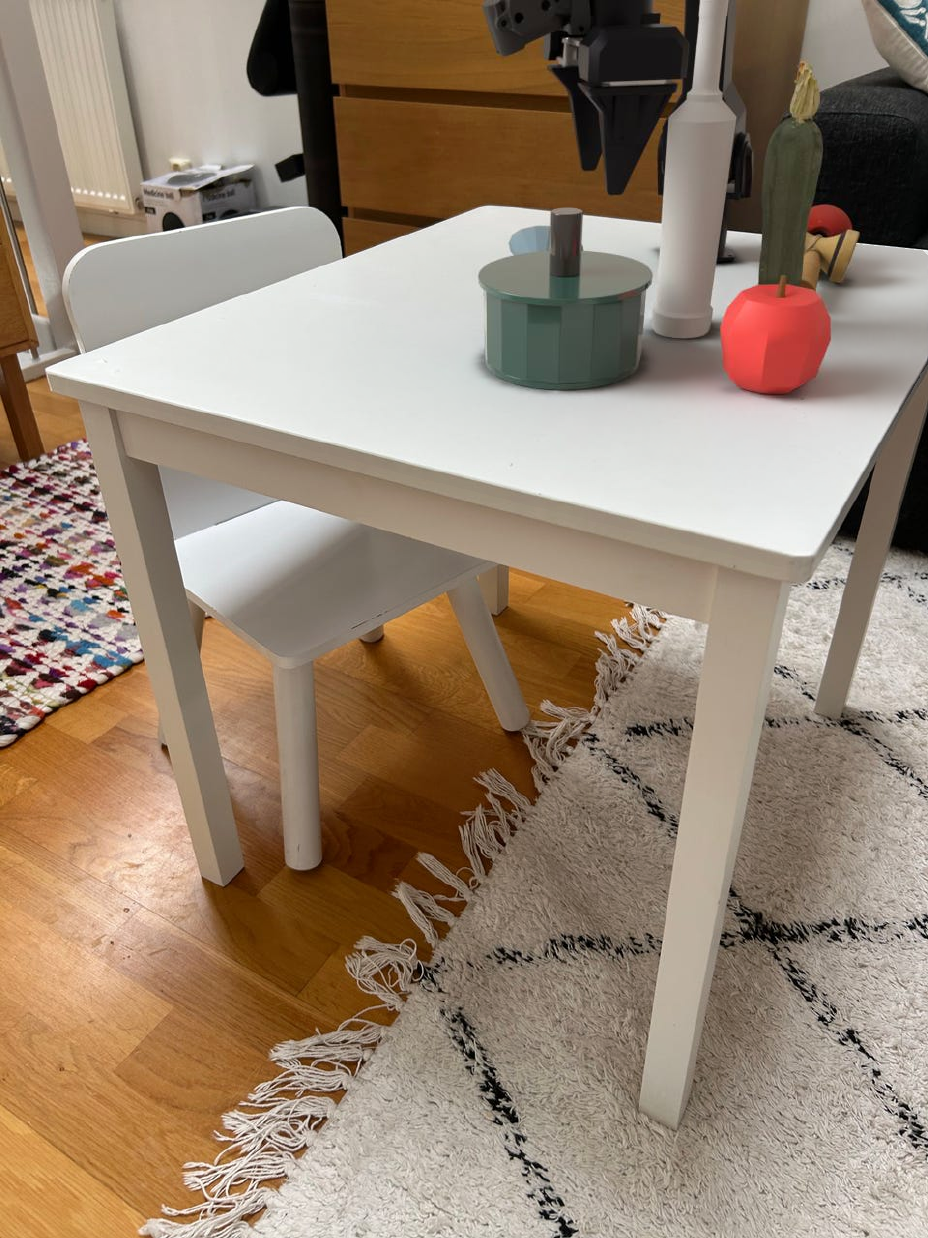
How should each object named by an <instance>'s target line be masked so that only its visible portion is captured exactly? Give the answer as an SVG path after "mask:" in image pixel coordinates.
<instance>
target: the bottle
mask: <svg viewBox="0 0 928 1238" xmlns="http://www.w3.org/2000/svg"><path fill="white" fill-rule="evenodd" d="M728 2H729V0H700V8H699V26H698V36H697V47H696V57H695V67H694V77H693V87H692V90H691V91H690V92H688V93H687V100H686V101H685V102H684V103H683V104H682V105H681V106H680V107H679V108H678V109H677V110H676V111H675V112H674V113H673V114H671V115H670V116H669V115H668V116H669V120H668V135H667V150H666V165H665V180H664V195H663V198H662V212H661V226H660V227H661V229H660V243H659V244H660V245H659V255H658V256H659V258H658V272H657V273H658V274H657V286H656V287H657V288H656V302H655V303H654V305H653V307H652V312H651V324H652V330H653V331H654V332H655V333H656V334H657V335H660V336H663V337H667V338H672V339H695V338H699V337H703V336H705V335H706V334H708V333H709V331H710V328H711V325H712V321H713V314H714V307H713V306H712V305H711V303H712V297H713V296H712V295H713V290H714V283H715V282H714V281H715V276H716V275H715V274H716V268H717V262H716V261H717V254H718V247H719V239H720V232H721V225H722V218H723V211H724V203H725V196H726V189H727V182H728V175H729V167H730V160H731V153H732V146H733V138H734V131H735V124H736V116H735V114H734V113H733V112H732V111H731V110H730V108H729V107H728V106H727V105H726V104H725V102H724V101H723V100H722V94H723V93H722V92H721V91H720V90H719V79H720V69H721V60H722V50H723V41H724V32H725V22H726V16H727V11H728Z"/></svg>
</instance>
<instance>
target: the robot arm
mask: <svg viewBox="0 0 928 1238" xmlns="http://www.w3.org/2000/svg"><path fill="white" fill-rule="evenodd" d="M654 1H655V0H485V1H483V2H482V3H481V9H482V11H483V15H484V18H485V21H486V24H487V27H488V30H489V33H490V37H491V39H492V42H493V46H494V49H495V53H496V54H497V55H500V57H502V58H504V57H509V56H511V55H514V54H517V53H518V52H520V51H522V50H524V49H525V47H526V45H528V44H530V43H532V42H534V41H536V40H538V39H539V40H540V39H541V38H542V59H544V60H546V61H557V63H552V64H551V63H550V64H546V69H547V70H548V71H549V73H551V74H552V76H554V78H555V79H556V80H557V81H558V82H559V83H560V84H561V85H562V87H564V89H565V90H566V92H567V96H568V100H569V107H570V112H571V117H572V123H573V129H574V135H575V141H576V147H577V152H578V157H579V158H578V159H579V163H580V169H581V170H582V171H583V172H595V171H596V169H598V166H599V163H600V160H601V157H602V165H603V174H604V175H603V176H604V182H605V184H604V185H605V192H606V194H607V195H609V196H620V195H623V194H624V192H625V190H626V188H627V186H628V184H629V182H630V180H631V178H632V175H633V174H634V172H635V170H636V167H637V165H638V163H639V161H640V160H641V157H642V155H643V153H644V151H645V148H646V146H647V145H648V143H649V140H650V139H651V136H652V135H653V132H654V130H655V129H656V126H657V125H658V122H659V121H660V119H661V117H662V115H663V113H664V112H665V110H666V107H667V106H668V104H669V102H670V101H671V98H672V97H673V94H676V93H677V91H678V89H679V83H678V82H676V81H677V80H681V93H680V95H679V96H678V98H677V100H676V102H675V104H674V105H673V107H672V109H671V111H670V112H669V114H668V116H667V118H666V119H665V121H664V122H663V125H662V132H661V133H660V137H659V141H658V146H657V155H656V156H657V157H656V158H657V195H658V196H661V197H662V196H663V195H664V180H665V165H666V150H667V135H668V120H669V116H670V115H671V114H673V113H674V112H675V111H676V110H677V109H678V108H679V107H680V106H681V105H682V104H683V103H684V102H685V101H686V100H687V93H688V92H690V91H691V90H692V87H693V77H694V67H695V57H696V47H697V36H698V26H699V8H700V0H684V22H683V23H684V24H683V33H682V32H681V31H680V29H679V28H678V26H676V25H670V24H666V23H661V16H662V15H661V12H657V11H654ZM737 5H738V0H729V2H728V11H727V16H726V22H725V32H724V41H723V50H722V60H721V69H720V79H719V90H720V91H721V92H722V93H723V94H722V100H723V101H724V102H725V104H726V105H727V106H728V107H729V108H730V110H731V111H732V112H733V113H734V114H735V116H736V124H735V131H734V138H733V146H732V153H731V160H730V167H729V175H728V182H727V189H726V196H725V203H724V211H723V218H722V225H721V232H720V239H719V247H718V254H717V261H716V263H722V262H735V260H736V255H735V254H734V253H733V252H731V250H729V248H727V247H726V245H727V244H726V243H727V235H728V227H729V219H730V211H731V204H732V200H733V201H741V200H742V199H749V198H751V197H752V193H753V186H754V185H753V184H754V177H755V171H754V169H755V168H754V166H755V164H754V160H755V159H754V158H755V157H754V149H753V148H752V145H751V136H750V135H751V134H750V133H749V132H746V127H747V125H746V124H747V107H746V105H745V103H744V101H743V99H742V97H741V95H740V94H739V92H738V90H737V88H736V86H735V84H734V83H733V79H732V78H733V64H734V48H735V33H736V19H737ZM674 80H676V81H674ZM732 181H734V183H732Z"/></svg>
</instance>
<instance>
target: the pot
mask: <svg viewBox="0 0 928 1238" xmlns="http://www.w3.org/2000/svg"><path fill="white" fill-rule="evenodd" d="M646 299H647V289H646V290H645V291H643V292H641V293H640V294H637V295H635V296H632V297H629V298H626V299H622V300H618V301H614V302H608V303H602V304H593V305H580V306H548V305H535V304H527V303H520V302H515V301H510V300H506V299H503V298H500V297H497V296H494V295H492V294H490V293H488V292H486V291H485V290H483V316H484V317H483V325H484V326H483V327H484V330H483V331H484V332H483V333H484V355H485V356H484V357H485V365H486V367H487V370H489V372H490V373H492V374H493V375H494V376H496V377H498V378H500V379H501V380H503V381H505V382H508V383H511V384H515V385H519V386H523V387H527V388H528V387H529V388H535V389H540V390H541V389H542V390H556V391H557V390H558V391H559V390H561V391H563V390H564V391H565V390H568V391H569V390H584V389H585V390H586V389H591V388H599V387H603V386H607V385H611V384H614V383H617V382H620V381H622V380H624V379H627V378H629V377H630V376H631V375H633V374H634V373H635V372H636V371H637V370H638V368H639V365H640V358H641V357H642V349H643V337H644V336H643V335H644V323H645V313H646V311H645V310H646Z"/></svg>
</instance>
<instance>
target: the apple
mask: <svg viewBox="0 0 928 1238" xmlns="http://www.w3.org/2000/svg"><path fill="white" fill-rule="evenodd" d="M719 327H720V328H719V329H720V343H721V355H722V358H721V359H722V367H723V368H724V370H725V372H726V374H727V376H728V378H729V379H730V381H732V382H733V383H734V384H735V385H736V386H737V387H738V388H740V389H742V390H746V391H749V392H753V393H758V394H763V395H764V394H768V395H786V394H788V393H790V392H792V391H794V390H795V389H797V388H800V387H801V386H802V385H804V384H807V382H809V381H811V380H813V379H815V378H816V376H817V375H818V373H819V370H820V369H821V365H822V363H823V361H824V357H825V355H826V353H827V350H828V349H829V347H830V344H831V341H832V318H831V316H830V314H829V312H828V310H827V307H826V305H825V302H824V301H823V299H822V297H821V296H820V295H819V294H818V293H817V291H816V292H815V291H814V290H812V289H807V288H803V287H798V286H793V285H789V284H786V275H782V276H781V279H780V283H779V284H770V285H758V284H756V285H754V286H751V287H748V288H745V289H743V290H741V291H740V292H739V293H738V294H737V295H736V297H735V298H734V299H733V300H732V301H731V302H730V304H729V305H728V306H726V310H725V312H724V315H723V319H722V321H721V325H720V326H719Z"/></svg>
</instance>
